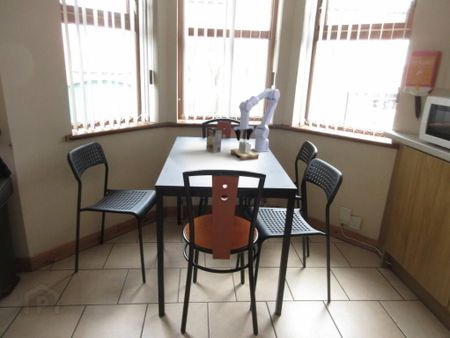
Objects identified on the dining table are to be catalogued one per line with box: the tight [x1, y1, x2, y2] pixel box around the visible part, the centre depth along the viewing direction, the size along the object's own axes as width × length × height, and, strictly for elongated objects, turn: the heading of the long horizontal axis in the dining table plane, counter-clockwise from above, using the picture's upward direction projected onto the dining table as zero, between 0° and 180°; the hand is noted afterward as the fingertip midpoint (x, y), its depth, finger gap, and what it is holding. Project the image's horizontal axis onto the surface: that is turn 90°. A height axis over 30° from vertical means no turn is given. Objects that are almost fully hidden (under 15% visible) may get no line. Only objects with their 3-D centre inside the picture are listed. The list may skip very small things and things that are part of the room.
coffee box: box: [205, 126, 223, 154], centre depth 214 cm, size 9×6×16 cm
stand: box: [230, 148, 260, 161], centre depth 207 cm, size 12×16×3 cm
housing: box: [238, 140, 252, 154], centre depth 206 cm, size 4×8×7 cm, turn 28°
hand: (243, 140), depth 212 cm, fingers open, 7 cm apart
